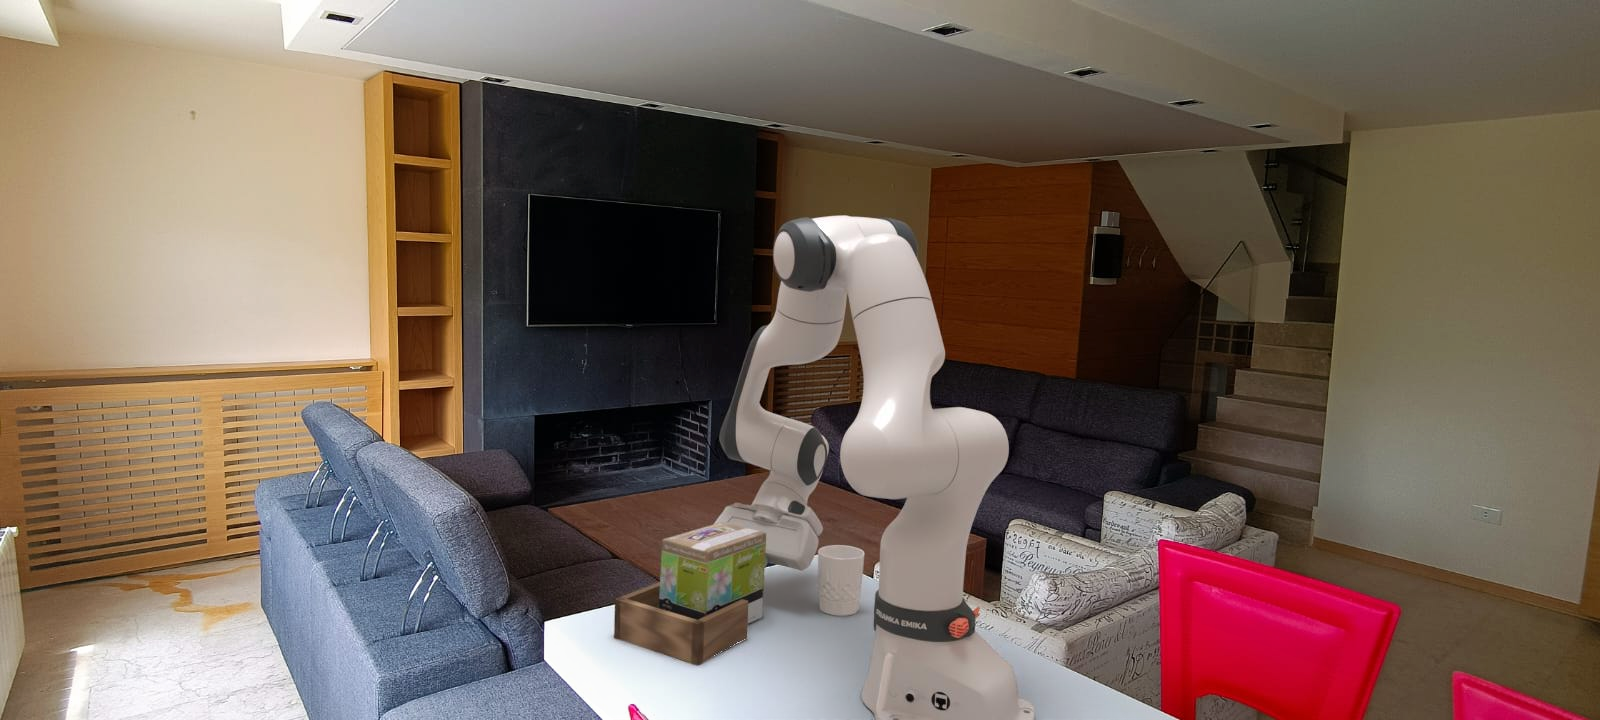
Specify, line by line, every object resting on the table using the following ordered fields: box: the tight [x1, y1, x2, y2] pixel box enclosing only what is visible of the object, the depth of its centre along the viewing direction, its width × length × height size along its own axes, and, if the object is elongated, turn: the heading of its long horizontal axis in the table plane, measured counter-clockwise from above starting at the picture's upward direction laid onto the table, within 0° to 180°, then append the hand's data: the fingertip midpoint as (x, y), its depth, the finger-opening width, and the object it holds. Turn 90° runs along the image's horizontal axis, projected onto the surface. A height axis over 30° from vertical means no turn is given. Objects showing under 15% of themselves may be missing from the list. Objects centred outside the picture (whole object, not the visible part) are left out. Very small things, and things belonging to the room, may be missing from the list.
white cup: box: [817, 544, 865, 617], centre depth 148 cm, size 8×8×10 cm
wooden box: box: [613, 581, 749, 666], centre depth 134 cm, size 16×12×6 cm
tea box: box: [659, 522, 766, 624], centre depth 139 cm, size 15×10×15 cm, turn 147°
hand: (741, 579), depth 146 cm, fingers closed, pressing on tea box
